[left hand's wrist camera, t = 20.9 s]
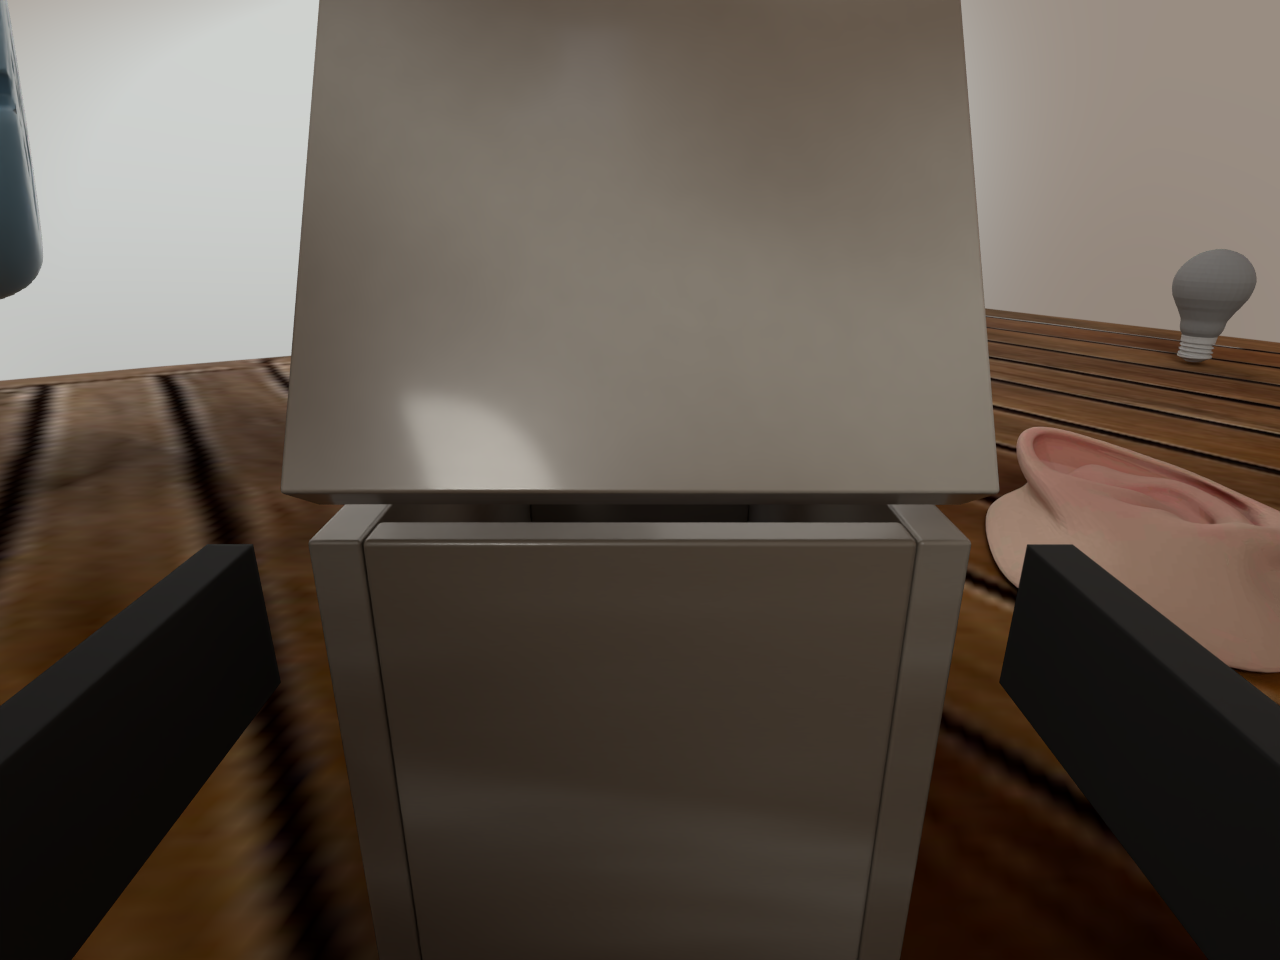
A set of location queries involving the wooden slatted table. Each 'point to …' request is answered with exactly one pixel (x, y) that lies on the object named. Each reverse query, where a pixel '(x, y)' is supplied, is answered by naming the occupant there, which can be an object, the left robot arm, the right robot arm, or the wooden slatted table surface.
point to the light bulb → (1210, 298)
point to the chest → (639, 723)
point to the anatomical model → (1151, 538)
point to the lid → (640, 256)
